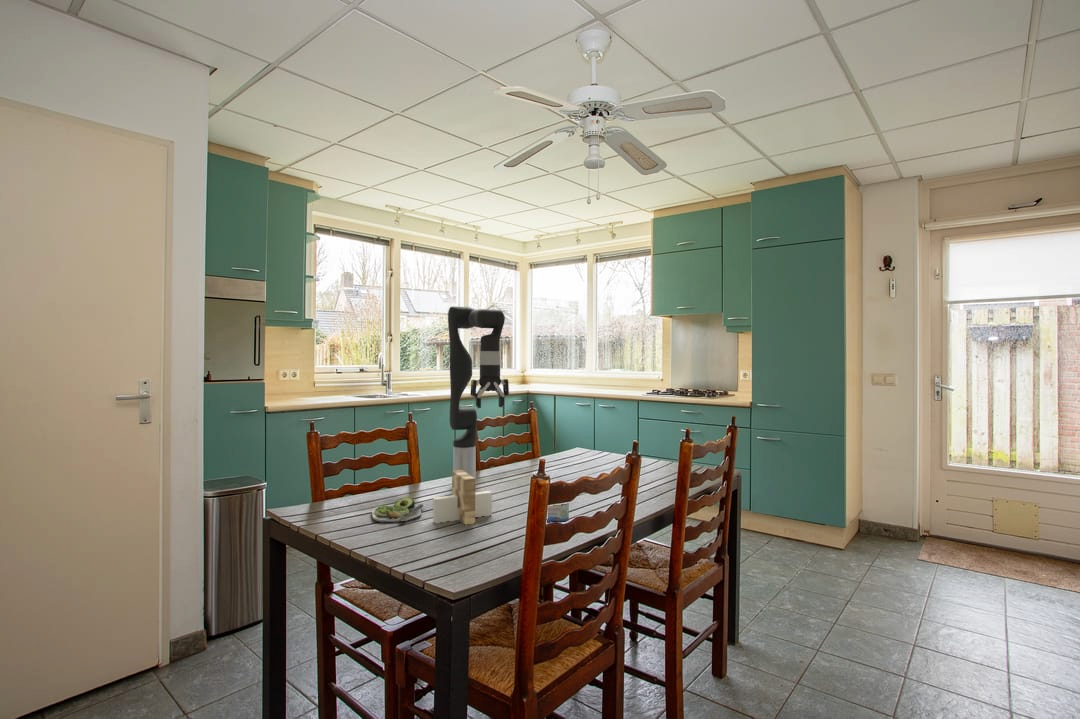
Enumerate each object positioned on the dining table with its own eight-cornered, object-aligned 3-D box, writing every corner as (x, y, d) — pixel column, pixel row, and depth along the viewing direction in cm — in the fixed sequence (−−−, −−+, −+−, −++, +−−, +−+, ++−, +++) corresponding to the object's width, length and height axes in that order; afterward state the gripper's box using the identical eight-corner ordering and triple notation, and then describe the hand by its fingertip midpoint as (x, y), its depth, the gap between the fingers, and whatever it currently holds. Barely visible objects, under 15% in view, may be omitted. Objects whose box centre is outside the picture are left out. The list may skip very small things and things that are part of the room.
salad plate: (427, 523, 180) (427, 510, 180) (370, 528, 175) (370, 514, 175) (422, 507, 199) (423, 494, 198) (371, 511, 194) (371, 498, 193)
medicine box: (545, 522, 181) (546, 496, 181) (543, 518, 186) (543, 493, 185) (569, 521, 182) (569, 495, 182) (566, 517, 187) (566, 492, 187)
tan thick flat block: (451, 513, 190) (452, 470, 190) (461, 512, 192) (461, 469, 191) (465, 525, 178) (465, 479, 177) (475, 523, 179) (475, 478, 179)
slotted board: (433, 521, 181) (433, 497, 181) (489, 513, 190) (489, 490, 190) (435, 523, 179) (435, 499, 179) (491, 515, 188) (491, 492, 188)
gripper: (503, 363, 206) (503, 405, 207) (468, 363, 200) (468, 407, 200) (511, 363, 200) (511, 407, 200) (475, 364, 193) (475, 409, 193)
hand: (489, 407), depth 200 cm, fingers open, 8 cm apart
